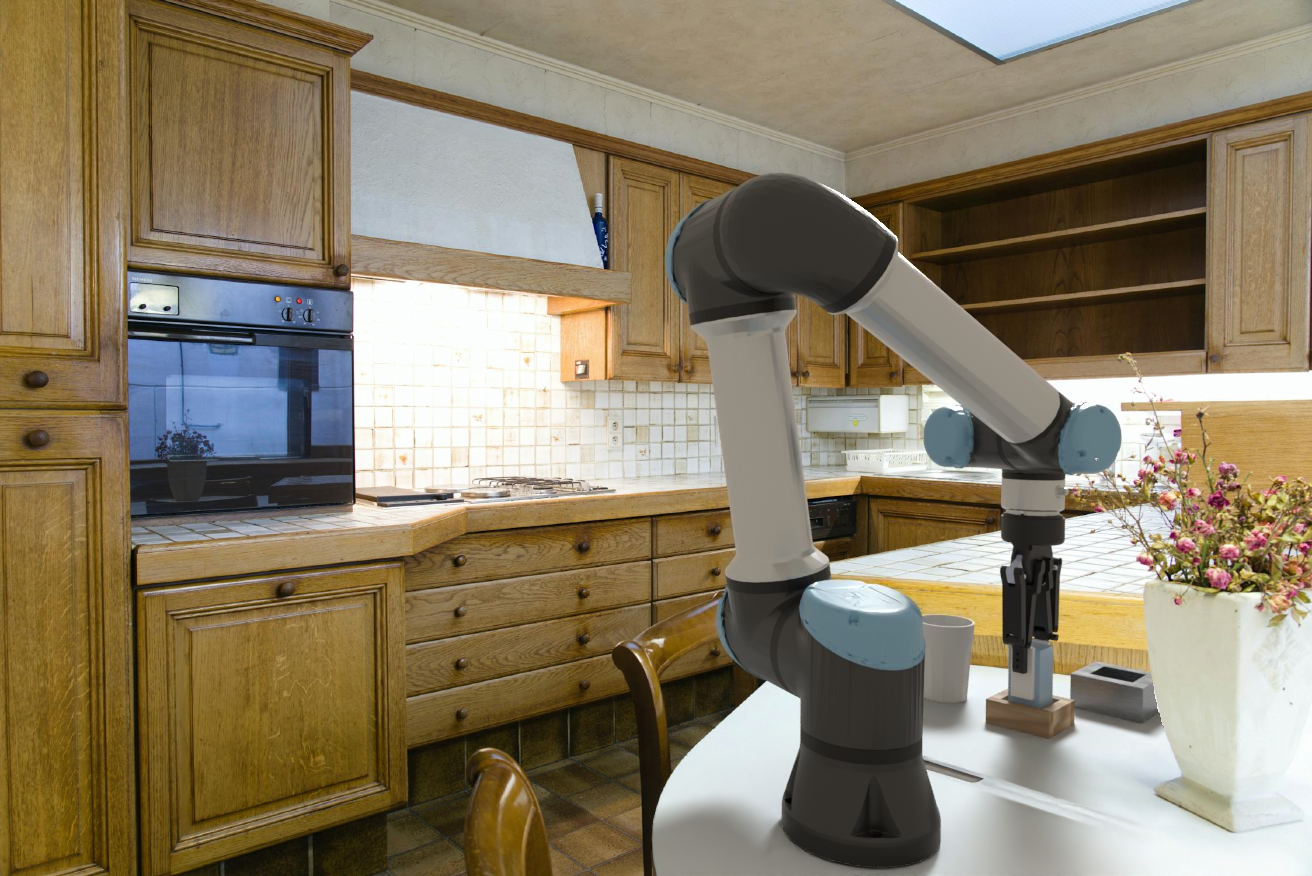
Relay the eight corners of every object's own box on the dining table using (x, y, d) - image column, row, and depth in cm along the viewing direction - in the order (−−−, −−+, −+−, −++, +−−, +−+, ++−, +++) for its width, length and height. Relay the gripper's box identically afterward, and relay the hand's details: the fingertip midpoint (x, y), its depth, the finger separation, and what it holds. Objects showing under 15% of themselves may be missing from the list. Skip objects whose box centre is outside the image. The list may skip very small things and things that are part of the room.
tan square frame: (1048, 742, 105) (1049, 714, 105) (985, 725, 111) (985, 698, 111) (1074, 727, 111) (1074, 700, 111) (1012, 711, 117) (1013, 686, 117)
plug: (1039, 730, 108) (1040, 651, 108) (1007, 722, 111) (1008, 645, 111) (1052, 722, 111) (1053, 645, 111) (1021, 715, 114) (1022, 639, 114)
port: (1142, 727, 111) (1143, 688, 111) (1070, 709, 118) (1070, 673, 118) (1164, 711, 117) (1165, 674, 117) (1094, 695, 124) (1095, 661, 124)
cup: (982, 714, 118) (983, 627, 118) (923, 714, 118) (924, 626, 118) (962, 696, 126) (963, 614, 126) (907, 695, 126) (908, 613, 126)
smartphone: (885, 730, 111) (1002, 761, 100) (885, 736, 111) (1002, 768, 100) (855, 746, 106) (975, 780, 95) (855, 752, 106) (975, 787, 95)
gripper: (1034, 519, 102) (1031, 715, 102) (1088, 510, 114) (1086, 686, 114) (973, 514, 107) (971, 700, 108) (1031, 505, 119) (1029, 674, 120)
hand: (1030, 692), depth 111 cm, fingers closed on plug, 4 cm apart
